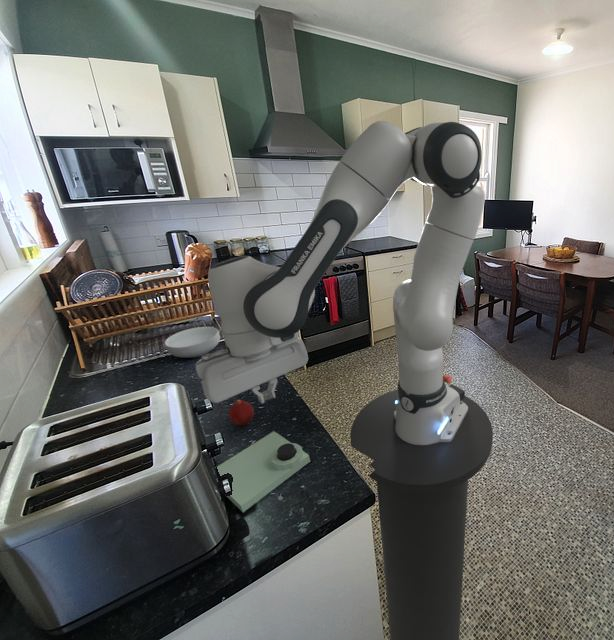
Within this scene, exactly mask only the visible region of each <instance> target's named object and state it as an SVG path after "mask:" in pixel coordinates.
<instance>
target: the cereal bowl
mask: <svg viewBox="0 0 614 640" xmlns="http://www.w3.org/2000/svg"><path fill="white" fill-rule="evenodd" d="M220 336H221V335H220V331H219V329H218V328H216V327H214V326H198V327H197V326H196V327H192V328H187V329H184V330H181V331H178V332H175V333H174V334H172V335H170V336H168V337H167V338H166V340H165V341H164V345H165V348H166V350H167V351H168V353H169V354H170V355H172V356H174V357H177V358H181V359H185V358H188V359H195V358H201V357H202V356H204V355H207V354H209V352H212V350H214V349H215V348H216V347H217V346H218V344H219V343H220V340H221V337H220Z"/></svg>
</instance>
